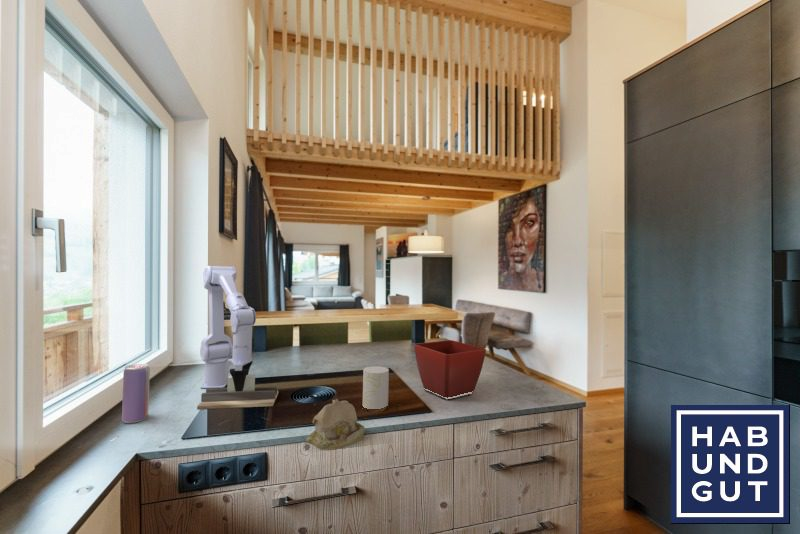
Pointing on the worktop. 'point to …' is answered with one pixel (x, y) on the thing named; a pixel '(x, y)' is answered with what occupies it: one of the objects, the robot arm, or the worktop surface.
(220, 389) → the base
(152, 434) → the worktop surface
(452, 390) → the plant pot
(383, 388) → the white cylinder
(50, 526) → the worktop surface
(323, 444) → the ceramic model
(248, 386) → the cream rectangular block
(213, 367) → the robot arm
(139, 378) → the beverage can
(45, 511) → the worktop surface
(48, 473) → the worktop surface
